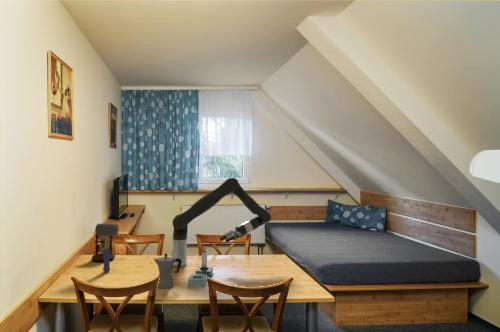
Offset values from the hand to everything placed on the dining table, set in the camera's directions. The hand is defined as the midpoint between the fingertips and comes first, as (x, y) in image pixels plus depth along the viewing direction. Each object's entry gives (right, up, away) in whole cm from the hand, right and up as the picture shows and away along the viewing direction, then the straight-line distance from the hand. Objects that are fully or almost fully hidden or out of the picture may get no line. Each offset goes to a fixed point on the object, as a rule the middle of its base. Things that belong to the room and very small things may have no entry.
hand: (223, 240), depth 226 cm
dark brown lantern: (-83, -18, +21) cm, 88 cm away
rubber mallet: (-71, -19, -5) cm, 74 cm away
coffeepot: (-29, -20, -26) cm, 44 cm away
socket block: (-11, -20, -7) cm, 24 cm away
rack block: (-13, -20, -22) cm, 32 cm away
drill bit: (-11, -20, -7) cm, 24 cm away
